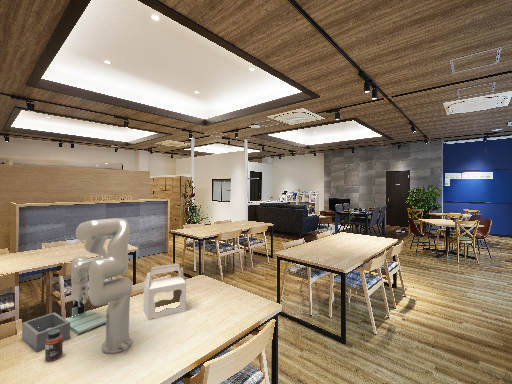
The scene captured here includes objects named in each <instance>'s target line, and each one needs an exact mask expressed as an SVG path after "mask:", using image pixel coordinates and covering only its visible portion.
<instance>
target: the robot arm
mask: <svg viewBox="0 0 512 384" xmlns="http://www.w3.org/2000/svg"><path fill="white" fill-rule="evenodd" d="M130 233H131V226H130V224H129V222H128V220H127V219H125V218H118V217H115V218H114V217H113V218H104V219H92V220H91V219H90V220H87V221H84V222H81V223H79V225H78V226H77V227H76V229H75V237H76V239H77V240H79V241H84V245H83V246H84V250H85V251H87V252H88V253H90V254H95V255H97V256H95V257H89V258H88V257H87V256H76V257H73V258H72V259H71V270H70V273H71V274H70V275H71V277H70V284H71V288H70V289H71V292H70V293H71V295H70V296H71V299H72V303H73V307H72V308H75V307H78V306H79V307H78V314H81V313H84V307H85V308H86V303H87V300H89V301H90V303H91V305H92V306H94V307H100V306H102V305H106V304H108V305H107V308H106V316H105V318H106V323H105V324H106V326H105V341H104V342H103V344H102V345H101V351H102V352H103V353H105V354H117V353H120V352H123V351H126V350H128V348H130V347H131V346H132V345H133V338H132V337H131V336H130V309H131V308H130V307H131V306H130V305H131V295H132V290H133V282H132V280H131V279H130V278H129V277H127V276H122V277H121V275H124V274H126V273H127V271H128V269H129V249H128V248H129V247H128V245H129V238H130V235H131V234H130ZM108 237H112V238H111V239H110V241H109V242H108V244H107V249H106V248H105V247H104V245H105V243H106V240H107V238H108ZM118 276H120V277H118ZM115 277H116V278H115ZM111 278H112V279H111ZM106 279H109V280H106Z"/></svg>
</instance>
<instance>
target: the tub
mask: <svg viewBox="0 0 512 384" xmlns="http://www.w3.org/2000/svg"><path fill="white" fill-rule="evenodd" d="M38 327H39V328H38ZM21 328H22V329H21V330H22V331H21V339H22V341H23V342H24V343H25V344H26V345H28V346H29V348H31V349H32V350H33V351H34V352H35V353H36V354H37V353H39V352H41V351H45V340H46V338H47V337H48V333H49V332H50V331H52V330H55V329H59V330H60V334H62V336H63V342H65V341H67V340H70V339H71V330H70V322H69V321H67V320H66V318H64V317H63V316H61V315H60V314H58V313H56V312H51V313H47V314H45V315H43V316H39V317H36V318H33V319H30V320H27V321H24V322H22V327H21Z"/></svg>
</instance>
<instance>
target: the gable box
mask: <svg viewBox="0 0 512 384" xmlns="http://www.w3.org/2000/svg"><path fill="white" fill-rule="evenodd" d="M171 272H177V276H172V277H166V278H161V279H154V280H152V276H153V275H154V276H155V275H157V274H158V275H159V274H165V273H171ZM145 276H146V277H145V279H144V282H143V301H142V302H143V304H142V307H143V309H142V310H143V313H144V315H145V316H146V318H147V320H148V321H150V320H153V319H152V318H154V319H157V318H156V317H158V318H161V317H160V316H162V317H166V316H169V315H168V314H170V315H173V314H172V313H174V314H177V313H176V312H178V313H180V312H179V311H182V310H187V281H186V278H185V276H184V267H180V264H179V263H178V262H175V263H167V264H162V265H153V266H152V267H151V268H150V271H149V272H146V275H145ZM170 292H172V296H173V297H172V299H161V300H158V301H157V302H156V301H155V299H154V297H155V296H156V295H157V294H160V293H170ZM175 302H180V305H179V306H178V307H176V308H166V309H164V310H162V311H160V312H155V308H156V307H160V306H164V305H168V304H171V303H175ZM182 312H183V311H182ZM165 315H166V316H165ZM149 319H150V320H149Z"/></svg>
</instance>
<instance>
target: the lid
mask: <svg viewBox="0 0 512 384" xmlns="http://www.w3.org/2000/svg"><path fill="white" fill-rule="evenodd" d="M78 307H79V306H78ZM78 307H75V308H73V307H72V308H71V316H70V317H71V318H69V317H67V318H68V319H66V318H65V319H66V320H67V321H69V322H70V332H73V333H74V334H75V335H79V334H82V333H84V332H86V331H89V330H91V329H93V328H96V327H99V326H101V325H104V324H106V316H104V315H102V314H100V313H98V312H96V311H94V310H92V309H89V310H86V306H85V307H84V313H81V314H79V315H78ZM91 310H92V311H91ZM75 315H76V316H75ZM72 316H73V317H72Z"/></svg>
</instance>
